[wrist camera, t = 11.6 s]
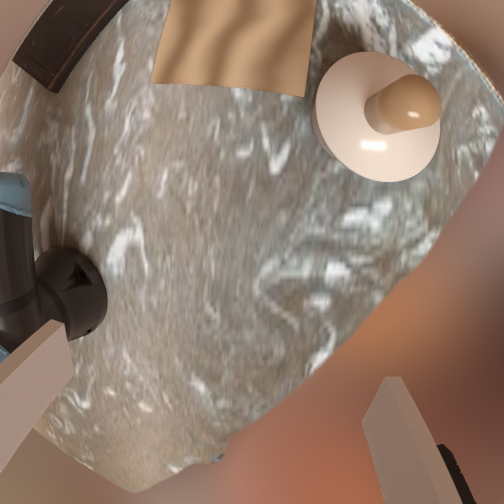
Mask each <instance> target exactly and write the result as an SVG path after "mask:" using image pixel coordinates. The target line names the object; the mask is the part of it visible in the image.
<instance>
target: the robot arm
mask: <svg viewBox="0 0 504 504" xmlns="http://www.w3.org/2000/svg"><path fill="white" fill-rule="evenodd" d="M32 217H33V212H32V211H31V193H30V184H29V181H28V179H27V178H26V177H25V176H24V175H22V174H19V173H11V172H0V472H2V470H3V469H4V467H5V466H6V464H7V463H8V461H9V460H10V458H11V457H12V456H13V454H14V453H15V451H16V450H17V448H18V447H19V445H20V444H21V443H22V441H23V440H24V439H25V437H26V436H27V435H28V433H29V432H30V430H31V429H32V428H33V426H34V425H35V424H36V422H37V421H38V420H39V418H40V417H41V416H42V414H43V413H44V412H45V410H46V409H47V408H48V407H49V405H50V404H51V403H52V401H53V400H54V399H55V397H56V396H57V395H58V394H59V392H60V391H61V390H62V389H63V387H64V386H65V385H66V384H67V382H68V381H69V380H70V379H71V377H72V376H73V375H74V374H75V373H74V369H73V365H72V360H71V356H70V351H69V346H68V342H69V341H71V340H74V339H77V338H80V337H82V336H85V335H88V334H90V333H91V332H93V331H94V330H95V329H96V328H97V327H98V326H99V325H100V324H101V322H102V321H103V320H104V317H105V315H106V311H107V294H106V290H105V286H104V283H103V281H102V279H101V276H100V274H99V273H98V271H97V269H96V268H95V267H94V265H93V264H92V263H91V261H90V260H89V259H88V258H87V257H86V256H84V255H83V254H82V253H80V252H79V251H77V250H75V249H73V248H71V247H67V246H57V247H54V248H52V249H50V250H48V251H46V252H44V253H43V254H41V255H40V256H39V257H38V258H37V260H36V261H35V260H34V250H33V236H32ZM361 423H362V426H363V429H364V432H365V436H366V439H367V442H368V446H369V449H370V452H371V456H372V459H373V463H374V466H375V469H376V473H377V476H378V480H379V484H380V487H381V491H382V495H383V498H384V502H385V504H476V502H475V500H474V498H473V496H472V494H471V492H470V490H469V487H468V485H467V483H466V481H465V479H464V476H463V474H462V473H460V471H461V470H460V468H459V466H458V465H457V462H456V460H455V458H454V456H453V454H452V452H451V451H450V450H449V449H448V448H447V447H445V445H444V444H440V445H436V444H435V442H434V440H433V438H432V436H431V434H430V432H429V430H428V428H427V426H426V424H425V422H424V420H423V418H422V417H421V414H420V413H419V411H418V409H417V407H416V405H415V403H414V401H413V399H412V397H411V395H410V393H409V392H408V390H407V388H406V386H405V384H404V383H403V381H402V379H401V377H384V380H383V382H382V384H381V386H380V388H379V390H378V392H377V394H376V396H375V398H374V400H373V402H372V404H371V405H370V407H369V409H368V411H367V413H366V415H365V416H364V418H363V420H362V422H361Z"/></svg>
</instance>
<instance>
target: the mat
mask: <svg viewBox="0 0 504 504" xmlns="http://www.w3.org/2000/svg"><path fill="white" fill-rule="evenodd" d="M315 9H316V0H172V2H171V5H170V8H169V11H168V14H167V18H166V21H165V25H164V28H163V32H162V36H161V39H160V43H159V47H158V51H157V55H156V60H155V64H154V68H153V73H152V78H151V82H150V83H151V84H194V85H212V86H225V87H235V88H245V89H253V90H261V91H268V92H275V93H282V94H288V95H293V96H299V97H304V95H305V88H306V81H307V73H308V66H309V58H310V50H311V43H312V35H313V26H314V18H315Z"/></svg>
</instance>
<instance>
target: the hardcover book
mask: <svg viewBox="0 0 504 504" xmlns="http://www.w3.org/2000/svg"><path fill="white" fill-rule="evenodd" d="M128 1H129V0H53V1H52V3H51V4H50V5H49V6H48V8H47V9H46V10H45V12H44V13H43V14H42V16H41V17H40V18H39V20H38V21H37V22H36V24H35V25H34V27H33V28H32V29H31V31H30V32H29V34H28V35H27V37H26V38H25V40H24V41H23V43H22V44H21V46H20V48H19V49H18V51H17V52H16V54H15V56H14V57H13V59H12V61H13V62H15V63H16V64H17V65H18V66H19V67H21V68H22V69H23V70H24V71H26V72H27V73H28V74H29V75H31V76H32V77H33V78H34V79H36V80H37V81H38V82H39V83H41V84H42V85H43V86H44V87H46V88H47V89H48V90H50V91H52V92H54V93H58V91H59V90H60V88H61V87H62V85H63V83H64V82H65V80H66V79H67V77H68V76H69V74H70V73H71V71H72V70H73V68H74V67H75V65H76V64H77V63H78V61H79V60H80V58H81V57H82V56H83V54H84V53H85V51H86V50H87V49H88V47H89V46H90V45H91V44H92V42H93V41H94V40H95V38H96V37H97V36H98V35H99V33H100V32H101V31H102V30H103V29H104V27H105V26H106V25H107V24H108V23H109V21H110V20H111V19H112V18H113V17H114V16H115V15H116V14H117V12H118V11H119V10H120V9H121V8H122V7H123V6H124V5H125V4H126V3H127V2H128Z"/></svg>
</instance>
